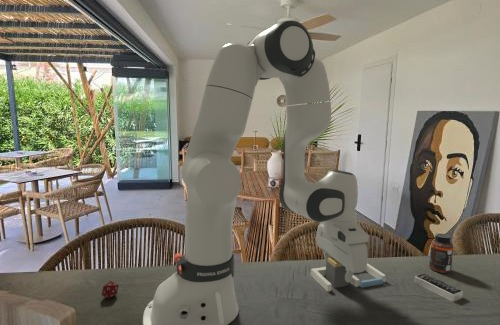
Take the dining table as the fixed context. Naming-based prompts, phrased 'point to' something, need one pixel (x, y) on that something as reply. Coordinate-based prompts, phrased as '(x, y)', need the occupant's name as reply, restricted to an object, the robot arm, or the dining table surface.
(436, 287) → the multiport hub
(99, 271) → the dining table surface
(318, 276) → the white e-shaped frame
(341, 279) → the grey tan-topped block
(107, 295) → the dice
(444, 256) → the supplement bottle
